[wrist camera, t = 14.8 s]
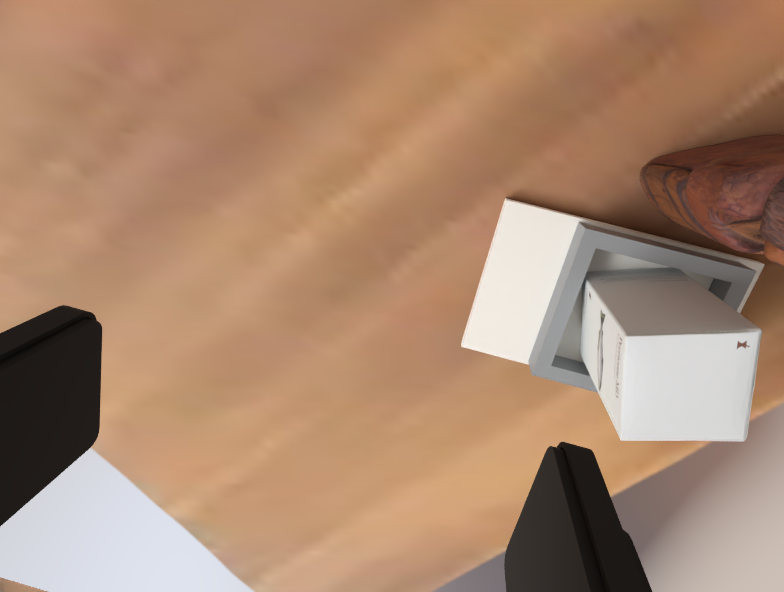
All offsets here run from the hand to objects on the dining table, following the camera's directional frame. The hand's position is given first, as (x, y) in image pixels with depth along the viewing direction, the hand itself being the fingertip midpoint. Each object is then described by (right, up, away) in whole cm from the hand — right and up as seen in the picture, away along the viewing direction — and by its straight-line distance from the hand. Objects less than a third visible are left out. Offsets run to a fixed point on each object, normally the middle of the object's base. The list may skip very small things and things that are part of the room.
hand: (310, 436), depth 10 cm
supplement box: (+21, +2, +31) cm, 37 cm away
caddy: (+19, +2, +32) cm, 37 cm away
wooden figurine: (+26, +12, +28) cm, 40 cm away
